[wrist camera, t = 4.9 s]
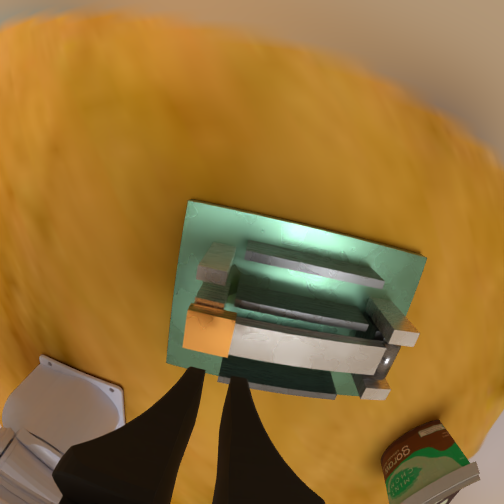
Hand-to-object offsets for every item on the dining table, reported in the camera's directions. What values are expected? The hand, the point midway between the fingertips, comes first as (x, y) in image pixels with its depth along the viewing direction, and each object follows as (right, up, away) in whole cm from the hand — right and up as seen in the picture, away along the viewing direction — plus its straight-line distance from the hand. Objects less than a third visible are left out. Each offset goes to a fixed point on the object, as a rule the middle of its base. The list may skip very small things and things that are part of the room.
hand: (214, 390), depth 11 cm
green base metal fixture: (+4, +2, +9) cm, 10 cm away
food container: (+18, -16, +13) cm, 27 cm away
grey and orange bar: (+4, +1, +5) cm, 7 cm away
